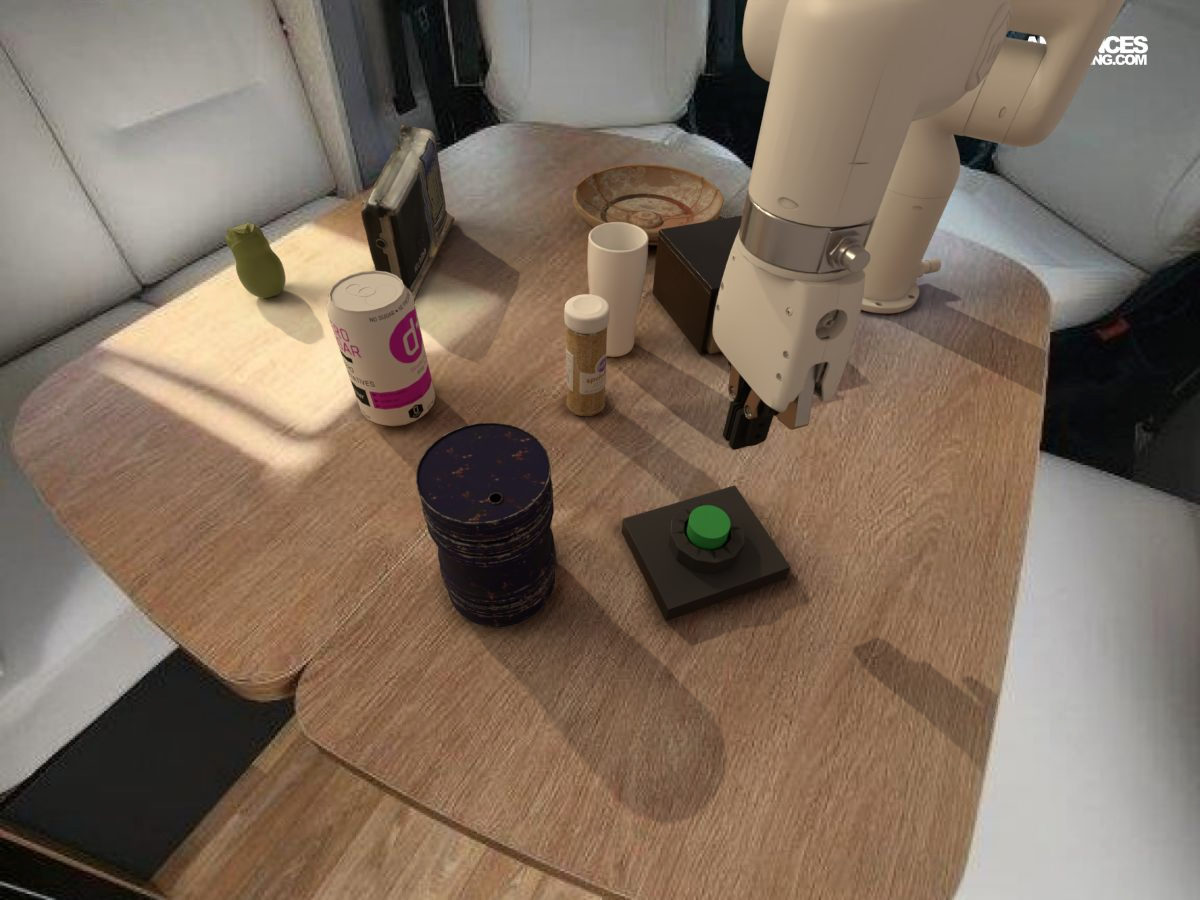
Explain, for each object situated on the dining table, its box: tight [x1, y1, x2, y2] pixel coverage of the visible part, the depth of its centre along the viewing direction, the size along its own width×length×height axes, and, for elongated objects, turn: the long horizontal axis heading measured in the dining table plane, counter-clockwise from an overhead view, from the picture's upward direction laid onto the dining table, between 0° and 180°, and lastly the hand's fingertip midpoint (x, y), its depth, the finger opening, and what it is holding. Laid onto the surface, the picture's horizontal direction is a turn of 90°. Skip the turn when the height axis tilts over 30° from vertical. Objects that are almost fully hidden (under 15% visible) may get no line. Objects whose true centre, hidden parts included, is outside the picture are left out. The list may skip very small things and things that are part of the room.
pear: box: [225, 221, 287, 299], centre depth 82 cm, size 6×5×10 cm
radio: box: [360, 125, 455, 300], centre depth 87 cm, size 23×9×15 cm, turn 169°
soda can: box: [326, 270, 436, 427], centre depth 66 cm, size 8×8×15 cm
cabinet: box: [652, 214, 743, 356], centre depth 81 cm, size 15×13×10 cm
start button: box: [687, 505, 731, 550], centre depth 55 cm, size 4×4×2 cm
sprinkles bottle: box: [563, 293, 610, 417], centre depth 67 cm, size 5×5×13 cm
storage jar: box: [415, 421, 557, 629], centre depth 51 cm, size 10×10×15 cm
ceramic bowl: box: [572, 163, 725, 246], centre depth 100 cm, size 23×24×5 cm
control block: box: [621, 484, 792, 623], centre depth 57 cm, size 12×10×4 cm
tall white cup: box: [586, 222, 649, 358], centre depth 74 cm, size 7×7×15 cm
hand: (743, 439), depth 51 cm, fingers closed
